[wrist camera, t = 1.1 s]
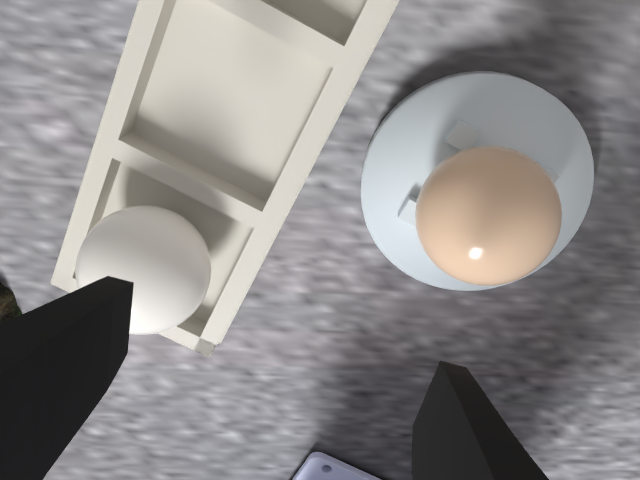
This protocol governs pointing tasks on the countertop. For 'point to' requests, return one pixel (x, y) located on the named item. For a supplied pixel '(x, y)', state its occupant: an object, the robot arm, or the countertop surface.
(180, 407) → the countertop surface
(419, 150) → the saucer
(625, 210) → the countertop surface
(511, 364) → the countertop surface
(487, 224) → the egg brown
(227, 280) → the carton
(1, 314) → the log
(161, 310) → the egg white
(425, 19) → the countertop surface
